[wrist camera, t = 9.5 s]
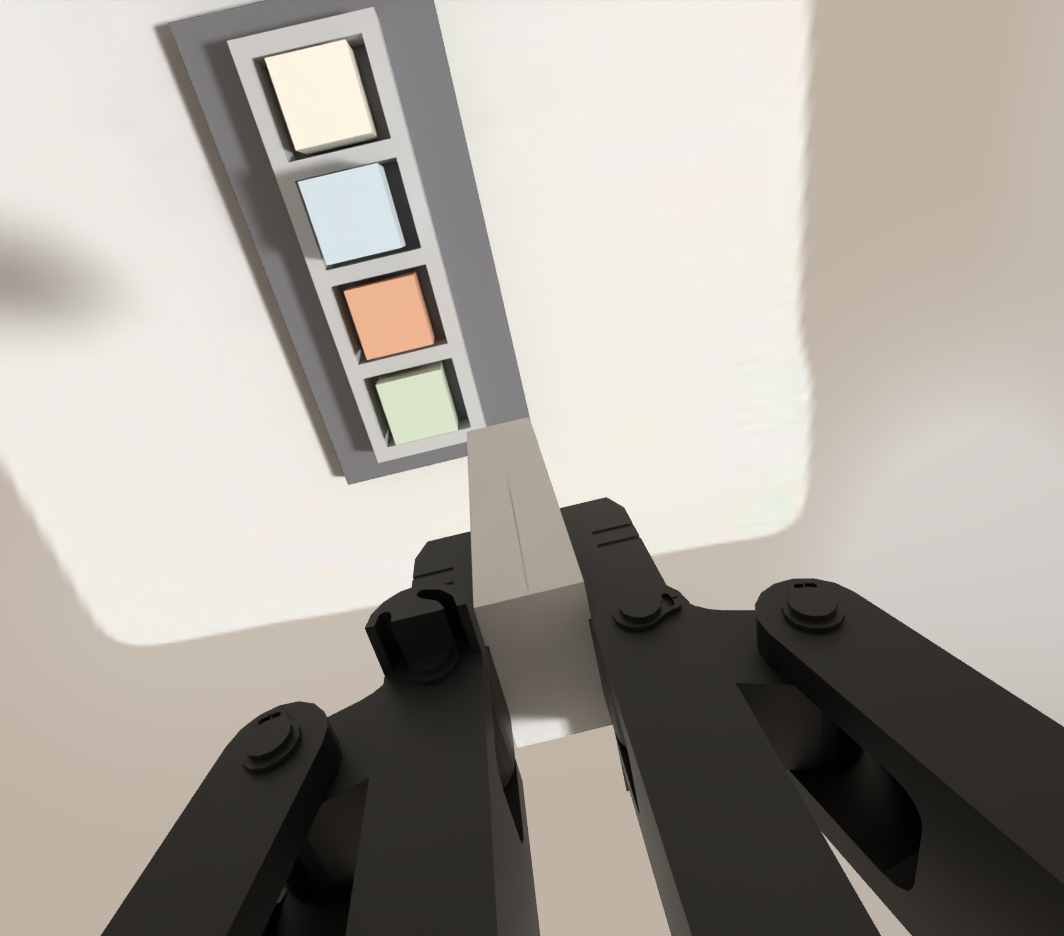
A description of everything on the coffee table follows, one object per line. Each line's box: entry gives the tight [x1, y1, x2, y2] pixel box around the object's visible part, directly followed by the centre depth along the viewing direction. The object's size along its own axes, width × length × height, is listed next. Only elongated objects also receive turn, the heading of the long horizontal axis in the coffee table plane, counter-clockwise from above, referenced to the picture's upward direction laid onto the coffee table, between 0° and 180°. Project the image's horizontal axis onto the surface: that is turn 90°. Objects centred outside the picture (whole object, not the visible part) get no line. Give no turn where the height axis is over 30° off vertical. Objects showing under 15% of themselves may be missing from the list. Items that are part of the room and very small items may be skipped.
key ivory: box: [265, 39, 378, 155], centre depth 27 cm, size 4×4×2 cm
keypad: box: [168, 0, 530, 485], centre depth 31 cm, size 24×12×3 cm, turn 12°
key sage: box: [376, 360, 458, 445], centre depth 33 cm, size 4×4×2 cm
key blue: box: [298, 163, 406, 265], centre depth 27 cm, size 4×4×2 cm
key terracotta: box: [344, 271, 435, 360], centre depth 31 cm, size 4×4×2 cm
